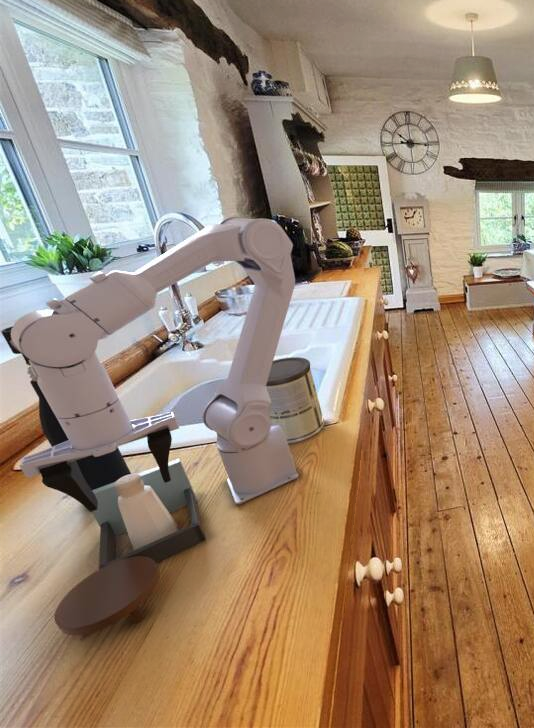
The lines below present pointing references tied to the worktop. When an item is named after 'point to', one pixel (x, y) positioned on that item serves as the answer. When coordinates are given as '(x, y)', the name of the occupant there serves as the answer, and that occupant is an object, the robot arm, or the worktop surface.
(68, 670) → the worktop surface
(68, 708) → the worktop surface
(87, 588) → the stool
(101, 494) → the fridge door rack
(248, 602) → the worktop surface
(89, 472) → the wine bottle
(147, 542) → the salt shaker
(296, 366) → the coffee can
